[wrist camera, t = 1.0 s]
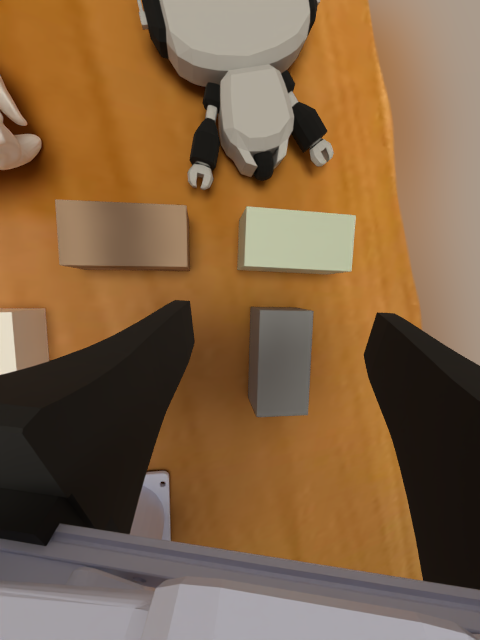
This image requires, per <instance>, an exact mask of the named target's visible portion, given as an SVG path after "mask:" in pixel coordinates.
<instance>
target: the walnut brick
mask: <svg viewBox="0 0 480 640" xmlns="http://www.w3.org/2000/svg"><path fill="white" fill-rule="evenodd" d="M55 204H56V219H57V234H58V249H59V263H60V265H62V266H68V267H73V268H79V269H84V270H163V271H190V257H189V218H188V213H187V207H186V205H166V204H143V203H120V202H98V201H75V200H55Z"/></svg>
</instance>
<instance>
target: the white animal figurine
mask: <svg viewBox="0 0 480 640" xmlns="http://www.w3.org/2000/svg"><path fill="white" fill-rule="evenodd" d="M0 110H1V111H2V112H3V113H4V114H5V115H6V116H7V117H8V118H9V119H11V120H12V121H13V122H15V123H16V124H18V125H21V126H26V125H27V121H26V120H25V119H24V118H23V117H22V115H21V114H20V112H19V110H18V108H17V106H16V105H15V103H14V101H13V99H12V98H11V96H10V94H9V93H8V91H7V89H6V87H5V85H4V82H3V80H2V78H1V75H0ZM41 145H42V142H41V139H40V138H39V137H38V136H36V135H34V134H20V135H13V134H12V133H11V131H10V130H9V129H8V128H7V127H6V126H5V125H4V124H3V116H2V114H1V112H0V170H8V169H12V168H16V167H19V166H21V165H24V164H26V163H28V162H30V161H31V160H32V159H33V158H34V157H35V156H36V155H37V154H38V152H39V151H40V149H41V147H42V146H41Z"/></svg>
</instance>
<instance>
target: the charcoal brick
mask: <svg viewBox="0 0 480 640" xmlns="http://www.w3.org/2000/svg"><path fill="white" fill-rule="evenodd" d="M312 327H313V311H311V310H306V309H301V308H292V307H251V310H250V346H249V382H248V398H249V401H250V403H251V405H252V408H253V410H254V412H255V414H256V417H272V416H295V415H308V403H309V384H310V365H311V346H312Z"/></svg>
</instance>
